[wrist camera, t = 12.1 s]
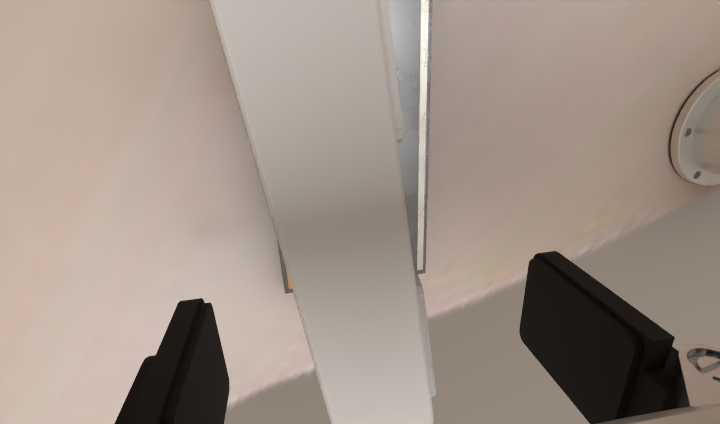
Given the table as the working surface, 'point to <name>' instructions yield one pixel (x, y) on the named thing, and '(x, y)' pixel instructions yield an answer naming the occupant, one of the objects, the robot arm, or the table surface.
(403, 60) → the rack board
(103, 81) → the table surface
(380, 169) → the rounded white slab
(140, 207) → the table surface
